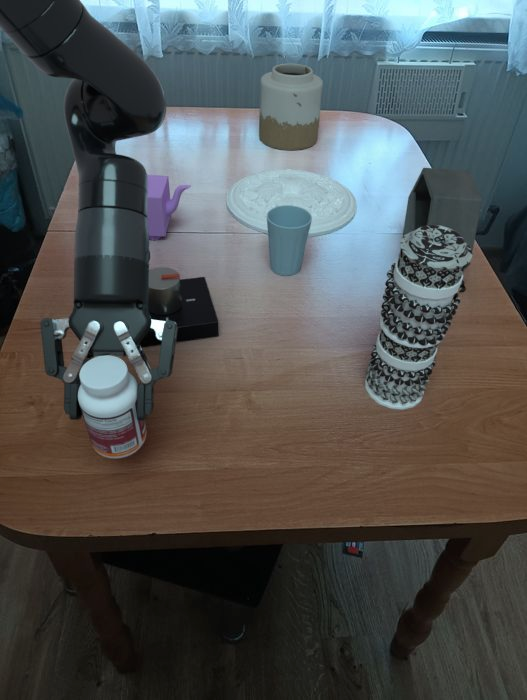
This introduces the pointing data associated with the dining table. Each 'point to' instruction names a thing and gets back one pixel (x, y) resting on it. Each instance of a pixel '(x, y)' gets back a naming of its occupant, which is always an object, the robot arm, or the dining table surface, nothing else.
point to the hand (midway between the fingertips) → (109, 418)
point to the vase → (290, 107)
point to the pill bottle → (110, 407)
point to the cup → (287, 238)
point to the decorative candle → (416, 314)
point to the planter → (444, 203)
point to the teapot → (161, 204)
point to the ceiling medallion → (291, 199)
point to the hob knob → (164, 291)
